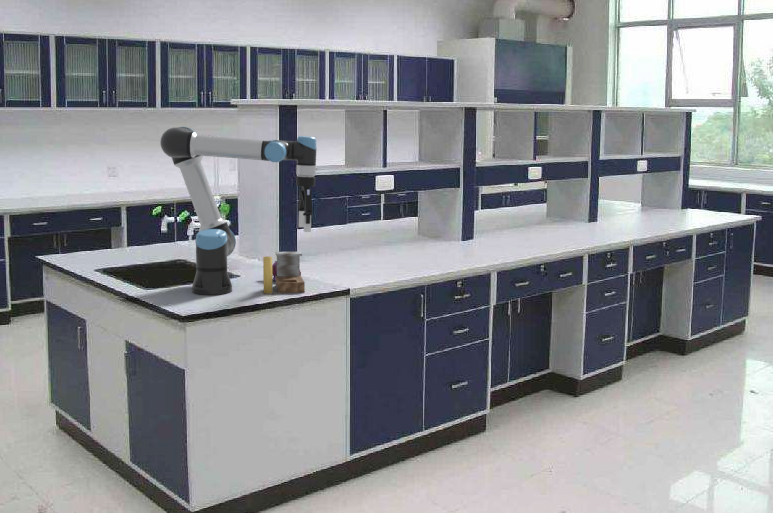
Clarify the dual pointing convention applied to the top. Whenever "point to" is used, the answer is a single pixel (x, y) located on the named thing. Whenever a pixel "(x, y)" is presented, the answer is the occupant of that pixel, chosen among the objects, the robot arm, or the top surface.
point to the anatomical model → (274, 270)
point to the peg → (267, 274)
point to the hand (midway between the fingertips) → (304, 229)
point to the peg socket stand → (289, 273)
